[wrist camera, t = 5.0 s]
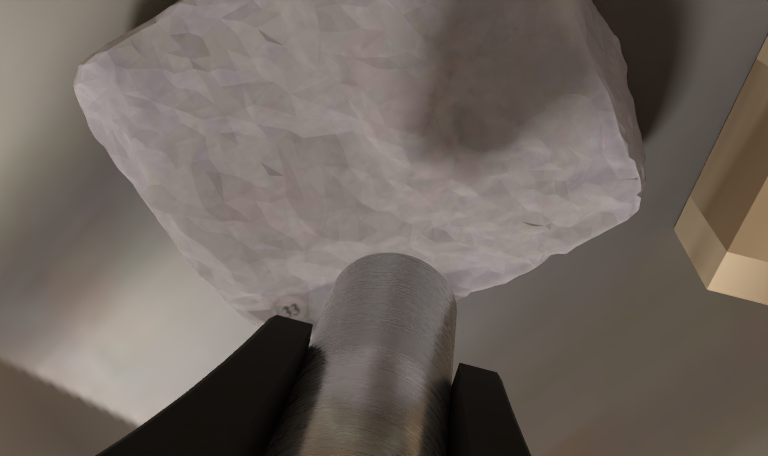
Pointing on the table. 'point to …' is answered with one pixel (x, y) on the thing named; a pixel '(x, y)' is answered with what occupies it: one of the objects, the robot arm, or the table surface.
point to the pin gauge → (375, 366)
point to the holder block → (734, 198)
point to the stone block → (368, 138)
